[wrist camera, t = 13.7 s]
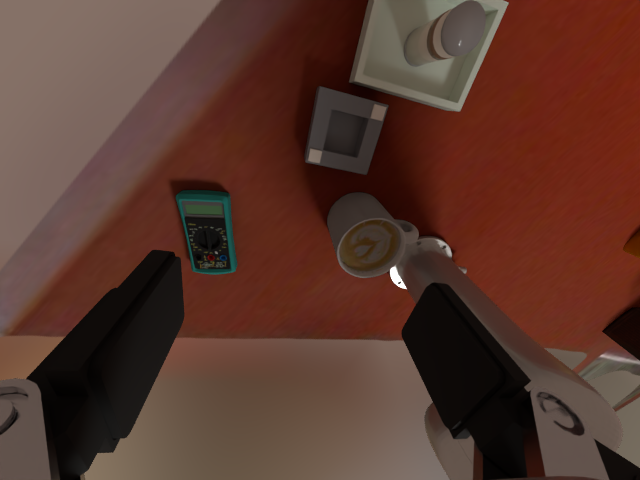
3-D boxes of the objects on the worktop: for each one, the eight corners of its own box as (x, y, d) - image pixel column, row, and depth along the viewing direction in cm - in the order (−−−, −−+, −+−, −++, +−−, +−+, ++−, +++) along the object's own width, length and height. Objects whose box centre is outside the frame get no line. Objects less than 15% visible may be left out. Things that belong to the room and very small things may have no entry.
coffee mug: (322, 240, 43) (330, 275, 35) (333, 188, 39) (346, 213, 30) (390, 247, 46) (413, 282, 37) (408, 199, 41) (440, 225, 33)
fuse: (439, 32, 29) (494, 8, 22) (425, 70, 31) (471, 60, 23) (411, 22, 29) (457, -7, 21) (398, 61, 31) (436, 48, 23)
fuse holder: (379, 104, 33) (389, 105, 30) (360, 169, 38) (367, 175, 34) (317, 87, 31) (320, 86, 28) (304, 157, 36) (305, 162, 32)
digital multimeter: (196, 266, 44) (191, 277, 41) (180, 187, 36) (172, 194, 34) (238, 266, 45) (235, 276, 42) (230, 190, 38) (226, 196, 35)
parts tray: (488, 11, 29) (508, 2, 27) (446, 110, 35) (459, 111, 32) (376, -34, 26) (386, -49, 24) (348, 82, 32) (354, 80, 29)
